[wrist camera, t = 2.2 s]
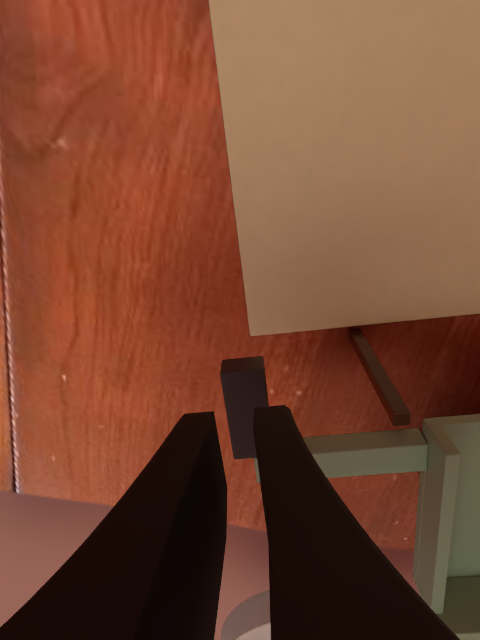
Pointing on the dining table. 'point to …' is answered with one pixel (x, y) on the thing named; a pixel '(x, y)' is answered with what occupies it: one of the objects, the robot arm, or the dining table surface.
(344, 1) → the mat
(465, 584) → the tray
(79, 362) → the dining table surface
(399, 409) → the stand
